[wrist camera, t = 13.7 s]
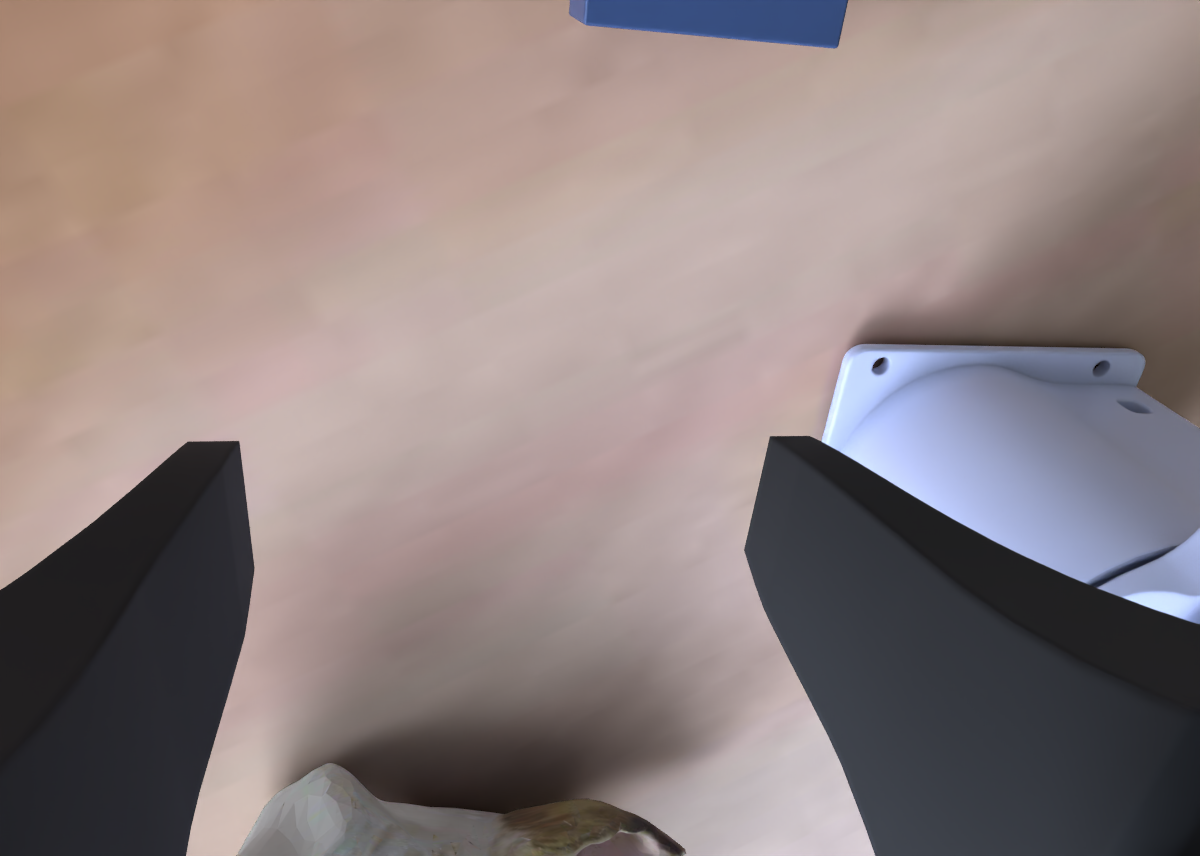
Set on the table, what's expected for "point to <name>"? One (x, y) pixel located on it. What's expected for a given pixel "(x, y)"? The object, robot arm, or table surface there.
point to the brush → (723, 18)
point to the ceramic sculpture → (439, 826)
